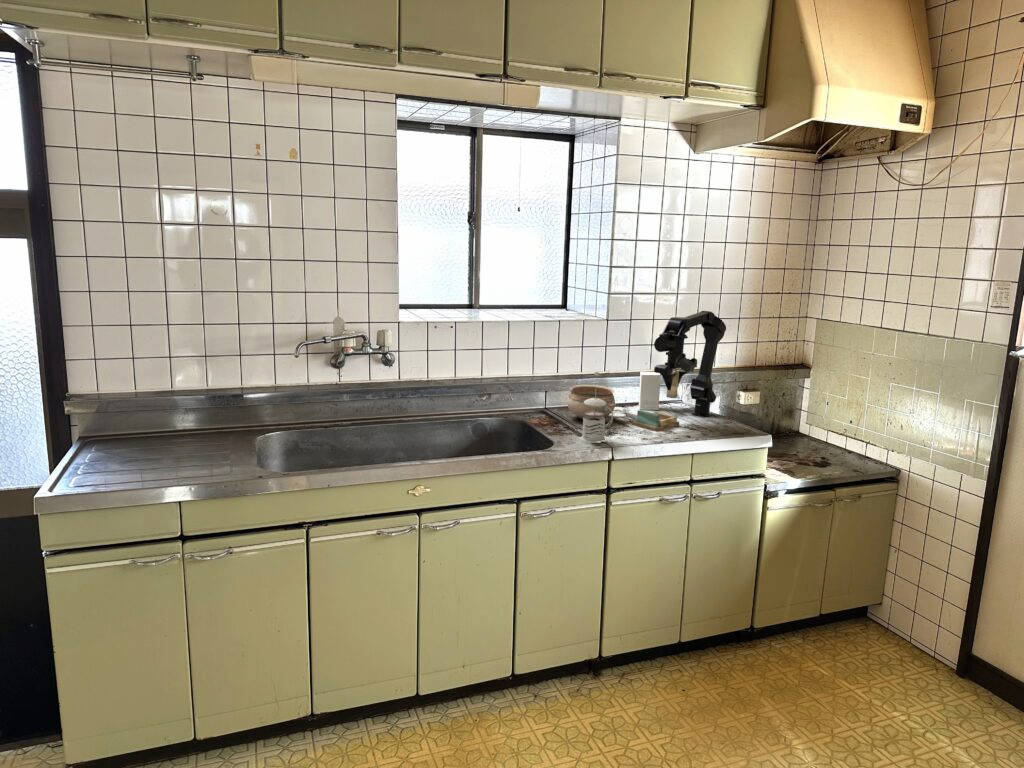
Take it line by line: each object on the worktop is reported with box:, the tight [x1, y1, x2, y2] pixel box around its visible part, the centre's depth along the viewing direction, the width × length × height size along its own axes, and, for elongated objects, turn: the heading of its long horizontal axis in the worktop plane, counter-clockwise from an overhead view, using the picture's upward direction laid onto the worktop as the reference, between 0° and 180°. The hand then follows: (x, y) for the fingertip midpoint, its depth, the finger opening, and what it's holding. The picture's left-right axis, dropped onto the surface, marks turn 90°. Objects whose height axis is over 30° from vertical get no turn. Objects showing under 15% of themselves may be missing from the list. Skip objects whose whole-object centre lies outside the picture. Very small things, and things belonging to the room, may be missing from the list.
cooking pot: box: [566, 384, 617, 421], centre depth 282 cm, size 25×19×12 cm
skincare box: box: [638, 371, 662, 411], centre depth 302 cm, size 8×7×16 cm
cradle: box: [631, 409, 680, 432], centre depth 278 cm, size 16×11×6 cm
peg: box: [666, 371, 679, 399], centre depth 279 cm, size 4×4×10 cm
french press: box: [579, 371, 614, 442], centre depth 253 cm, size 10×12×25 cm
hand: (672, 389), depth 279 cm, fingers closed on peg, 4 cm apart
